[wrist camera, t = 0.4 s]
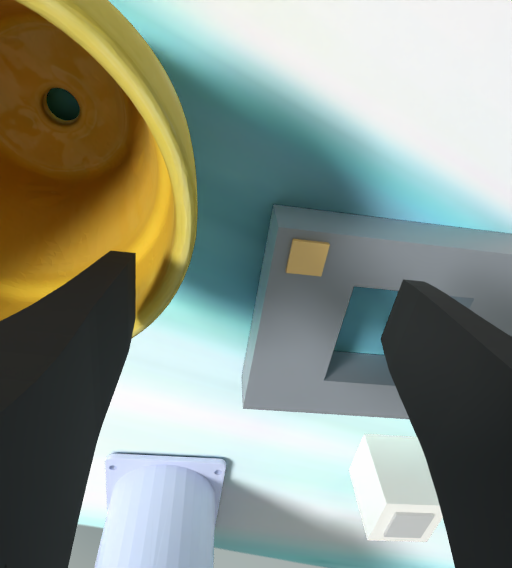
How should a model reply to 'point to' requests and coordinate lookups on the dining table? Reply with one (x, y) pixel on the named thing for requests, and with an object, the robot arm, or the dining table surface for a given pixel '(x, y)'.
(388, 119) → the dining table surface
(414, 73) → the dining table surface
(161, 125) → the plant pot
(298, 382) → the socket plate
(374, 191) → the dining table surface
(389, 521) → the plug block
